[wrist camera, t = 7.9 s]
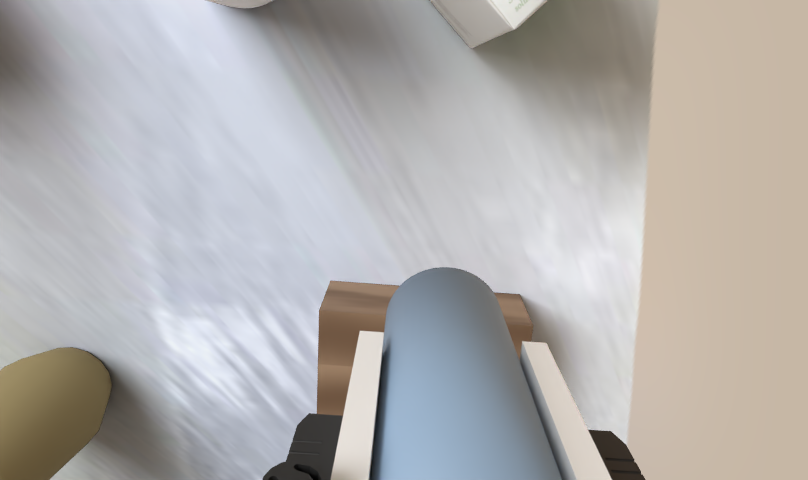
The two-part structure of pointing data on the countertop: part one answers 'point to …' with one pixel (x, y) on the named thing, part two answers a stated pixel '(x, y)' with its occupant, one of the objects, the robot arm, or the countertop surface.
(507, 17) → the skincare box
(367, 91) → the countertop surface
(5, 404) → the squeeze bottle
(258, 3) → the milk bottle
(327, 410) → the socket block
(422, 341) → the peg
